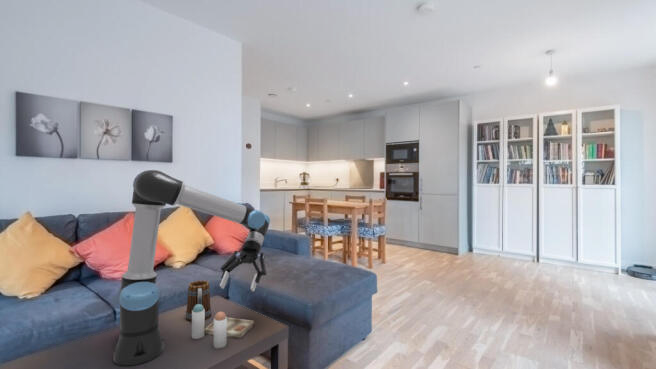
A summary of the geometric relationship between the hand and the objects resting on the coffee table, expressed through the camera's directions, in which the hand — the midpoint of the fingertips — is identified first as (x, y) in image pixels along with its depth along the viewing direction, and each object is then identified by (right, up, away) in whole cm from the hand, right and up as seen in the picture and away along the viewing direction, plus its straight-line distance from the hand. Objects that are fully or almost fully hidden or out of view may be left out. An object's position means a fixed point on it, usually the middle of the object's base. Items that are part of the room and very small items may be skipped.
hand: (236, 288), depth 127 cm
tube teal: (-14, -17, -5) cm, 22 cm away
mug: (-20, -17, +10) cm, 28 cm away
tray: (-3, -17, +1) cm, 17 cm away
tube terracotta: (-3, -17, -11) cm, 21 cm away
